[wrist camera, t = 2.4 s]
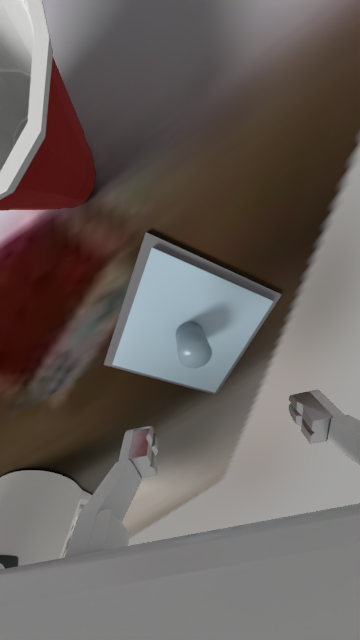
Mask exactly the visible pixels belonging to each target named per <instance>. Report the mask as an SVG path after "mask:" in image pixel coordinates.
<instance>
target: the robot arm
mask: <svg viewBox="0 0 360 640" xmlns="http://www.w3.org/2000/svg"><path fill="white" fill-rule="evenodd" d="M289 401H290V402H291V404H290V405H289V411H290V414H291V416H292V418H293V420H294V421H295V423H296V424H298V425H300V426H301V427H302V428H301V431H302V433H303V434H304V436H305V437H306V439H307V440H308V441H309V443H310V444H312V443H318V442H324V441H327V442H328V443H329V444H331V445H332V446H334V447H335V448H336V449H338V450H339V451H341V452H342V453H344V454H345V455H346V456H348V457H349V458H351V459H352V460H354V461H355V462H356V463H358V464H359V465H360V420H358V419H355V418H353V417H351V416H349V415H344V414H343V413H342V412H341V411H340V410H339V409H338V408H337V407H336V406H335V405H334V404H333V403H332V402H331V401H329V399H328V398H327V397H326V396H325V395H324V394H323V393H321V392H320V391H319V390H313V391H309V392H303V393H299V394H295V395H291V396H290V397H289ZM153 430H154V429H153V427H152V426H147V427H142V428H136V429H131V430H127V431H126V432H125V435H124V439H123V443H122V448H121V452H120V456H119V460H118V462H116V463H115V464H114V466H113V467H112V468H111V470H110V471H109V473H108V474H107V475H106V477H105V478H104V480H103V481H102V482H101V484H100V485H99V487H98V488H97V489H96V491H95V492H94V494H93V495H91V494H89V493H87V492H85V491H83V490H82V489H81V488H80V487H79V486H78V485H77V484H76V483H75V482H74V481H72V480H71V479H69V478H67V477H65V476H63V475H60V474H56V473H53V472H48V471H39V470H25V471H17V472H13V473H9V474H7V475H4V476H2V477H1V478H0V640H360V503H359V504H354V505H348V506H343V507H337V508H332V509H327V510H321V511H316V512H310V513H305V514H299V515H294V516H288V517H283V518H278V519H272V520H267V521H261V522H256V523H250V524H245V525H239V526H234V527H229V528H224V529H218V530H212V531H207V532H202V533H196V534H191V535H185V536H180V537H174V538H169V539H163V540H158V541H153V542H147V543H142V544H136V545H131V546H128V542H129V534H130V533H129V531H128V529H127V528H126V527H125V526H124V525H123V524H122V523H121V522H122V520H123V518H124V516H125V514H126V512H127V510H128V508H129V506H130V504H131V501H132V499H133V497H134V495H135V493H136V491H137V489H138V487H139V485H140V483H141V481H142V478H145V477H149V476H153V475H157V465H158V460H157V458H156V455H157V453H158V439H157V435H156V434H155V433H153ZM76 520H77V522H76V525H75V528H74V531H73V534H72V537H71V540H70V543H69V546H68V549H67V552H66V555H65V558H63V556H64V553H65V548H66V545H67V541H68V538H69V535H70V533H71V531H72V529H73V525H74V522H75V521H76Z"/></svg>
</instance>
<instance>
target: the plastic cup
mask: <svg viewBox="0 0 360 640" xmlns="http://www.w3.org/2000/svg"><path fill="white" fill-rule="evenodd" d="M95 176H96V173H95V167H94V162H93V157H92V152H91V150H90V148H89V146H88V144H87V142H86V139H85V136H84V131H83V129H82V127H81V124H80V122H79V119H78V117H77V114H76V112H75V110H74V107H73V105H72V102H71V100H70V97H69V95H68V93H67V90H66V88H65V85H64V83H63V80H62V78H61V76H60V73H59V71H58V68H57V66H56V63H55V61H54V59H53V50H52V45H51V40H50V36H49V31H48V26H47V21H46V16H45V12H44V7H43V2H42V0H0V210H47V209H61V208H74V207H76V206H78V205H79V204H81V203H83V202H85V201H86V200H87V199H88V197H89V196H90V194H91V193H92V191H93V189H94V183H95Z"/></svg>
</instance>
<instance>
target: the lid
mask: <svg viewBox="0 0 360 640" xmlns="http://www.w3.org/2000/svg"><path fill="white" fill-rule="evenodd" d="M272 303H273V301H272V300H270V299H268V298H265V297H263V296H261V295H259V294H256V293H254V292H252V291H250V290H247V289H245V288H243V287H241V286H238V285H236V284H234V283H232V282H229V281H227V280H225V279H223V278H220V277H218V276H216V275H214V274H211V273H209V272H207V271H205V270H202V269H200V268H198V267H196V266H193V265H191V264H189V263H187V262H184V261H182V260H180V259H178V258H175V257H173V256H171V255H169V254H166V253H164V252H162V251H160V250H157V249H155V248H153V247H152V248H151V251H150V254H149V257H148V260H147V263H146V266H145V269H144V272H143V275H142V278H141V281H140V284H139V287H138V290H137V293H136V296H135V299H134V302H133V305H132V308H131V310H130V313H129V316H128V319H127V322H126V325H125V328H124V331H123V334H122V337H121V340H120V343H119V346H118V349H117V352H116V355H115V358H114V361H113V364H112V365H115V366H119V367H122V368H126V369H130V370H133V371H137V372H141V373H144V374H148V375H152V376H155V377H159V378H163V379H166V380H170V381H174V382H177V383H181V384H185V385H188V386H192V387H196V388H199V389H203V390H207V391H210V392H214V393H215V392H216V390H217V389H218V387H219V386H220V384H221V383H222V381H223V379H224V378H225V376H226V375H227V373H228V372H229V370H230V369H231V367H232V365H233V364H234V362H235V361H236V359H237V358H238V356H239V354H240V353H241V351H242V350H243V348H244V347H245V345H246V344H247V342H248V340H249V339H250V337H251V336H252V334H253V333H254V331H255V330H256V328H257V326H258V325H259V323H260V322H261V320H262V319H263V317H264V316H265V314H266V312H267V311H268V309H269V308H270V306H271V305H272Z"/></svg>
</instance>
